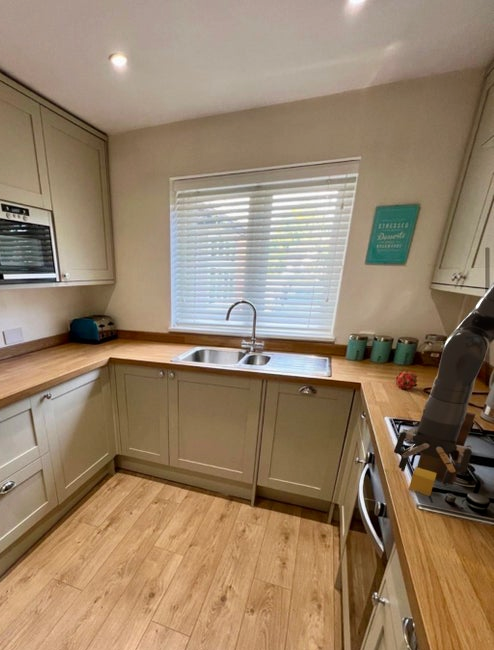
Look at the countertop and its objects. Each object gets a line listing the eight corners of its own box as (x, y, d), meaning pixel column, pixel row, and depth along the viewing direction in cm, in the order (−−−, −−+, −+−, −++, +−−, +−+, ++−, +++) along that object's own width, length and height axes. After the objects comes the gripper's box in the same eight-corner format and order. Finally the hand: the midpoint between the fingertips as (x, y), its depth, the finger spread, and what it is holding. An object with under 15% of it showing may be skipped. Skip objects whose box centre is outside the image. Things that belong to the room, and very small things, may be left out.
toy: (431, 487, 83) (436, 473, 82) (429, 496, 80) (434, 480, 78) (411, 481, 86) (415, 466, 84) (408, 489, 83) (412, 474, 81)
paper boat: (396, 439, 105) (389, 421, 112) (403, 453, 107) (396, 434, 114) (440, 427, 98) (431, 409, 106) (447, 442, 101) (437, 423, 108)
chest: (453, 485, 84) (460, 463, 82) (415, 473, 89) (421, 452, 87) (455, 468, 91) (463, 447, 89) (420, 458, 96) (426, 438, 94)
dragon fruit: (405, 387, 161) (404, 397, 153) (391, 375, 163) (389, 385, 154) (421, 376, 156) (421, 386, 147) (406, 364, 157) (405, 373, 148)
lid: (475, 415, 82) (477, 403, 85) (435, 407, 87) (439, 396, 90) (463, 447, 89) (466, 434, 92) (426, 437, 94) (430, 426, 97)
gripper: (483, 420, 74) (459, 480, 80) (408, 404, 82) (392, 460, 88) (483, 431, 69) (458, 495, 74) (403, 412, 77) (387, 472, 83)
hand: (422, 476), depth 81 cm, fingers open, 8 cm apart
